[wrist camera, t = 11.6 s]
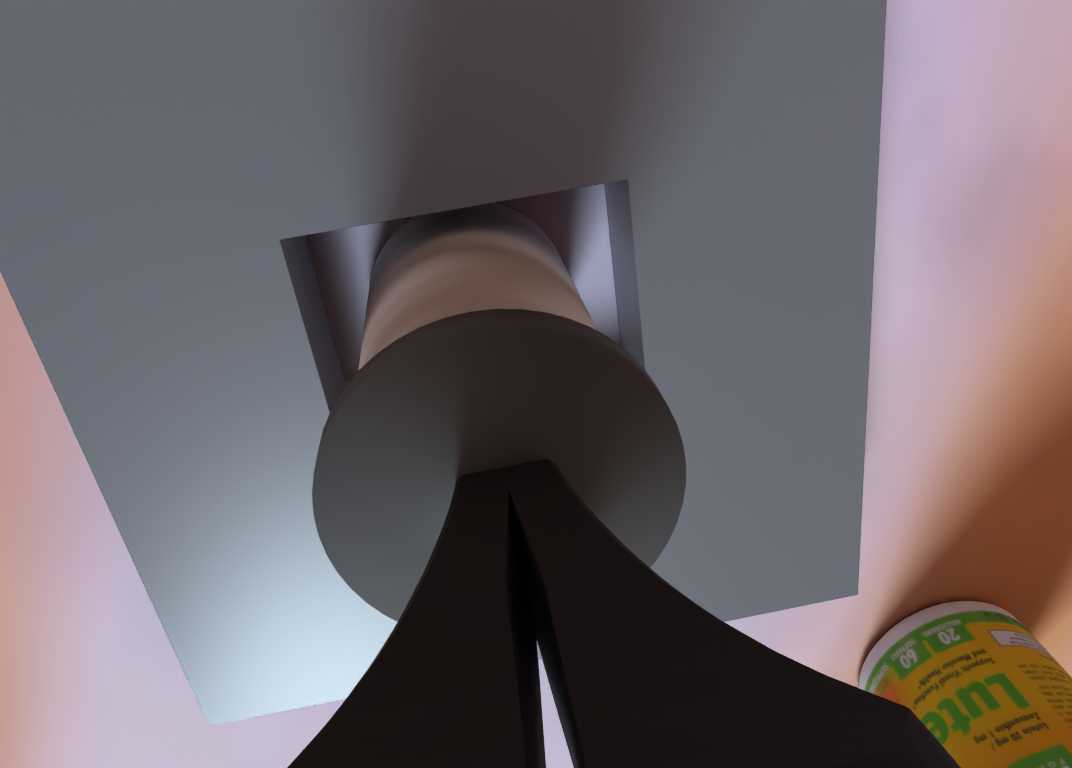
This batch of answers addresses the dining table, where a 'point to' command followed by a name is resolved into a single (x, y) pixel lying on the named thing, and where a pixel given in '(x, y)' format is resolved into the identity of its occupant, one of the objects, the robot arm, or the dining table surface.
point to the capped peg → (483, 401)
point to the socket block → (416, 189)
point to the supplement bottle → (977, 685)
